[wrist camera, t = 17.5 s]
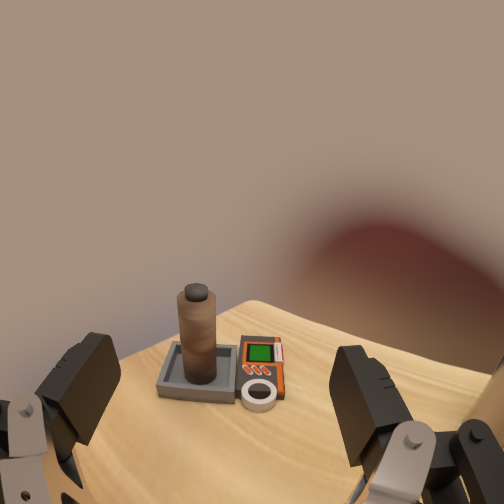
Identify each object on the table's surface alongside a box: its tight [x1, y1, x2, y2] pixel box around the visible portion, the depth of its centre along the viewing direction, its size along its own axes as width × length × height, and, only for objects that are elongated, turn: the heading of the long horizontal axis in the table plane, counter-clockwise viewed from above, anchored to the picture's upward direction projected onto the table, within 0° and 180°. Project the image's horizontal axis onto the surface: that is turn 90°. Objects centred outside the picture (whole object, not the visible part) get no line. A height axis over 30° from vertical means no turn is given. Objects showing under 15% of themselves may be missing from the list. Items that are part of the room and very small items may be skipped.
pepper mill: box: [177, 283, 217, 385], centre depth 35 cm, size 5×5×14 cm
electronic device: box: [236, 335, 285, 412], centre depth 38 cm, size 7×3×15 cm
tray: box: [156, 341, 237, 404], centre depth 37 cm, size 10×10×2 cm
